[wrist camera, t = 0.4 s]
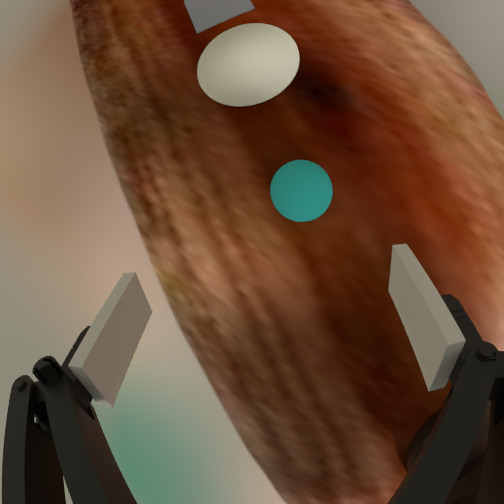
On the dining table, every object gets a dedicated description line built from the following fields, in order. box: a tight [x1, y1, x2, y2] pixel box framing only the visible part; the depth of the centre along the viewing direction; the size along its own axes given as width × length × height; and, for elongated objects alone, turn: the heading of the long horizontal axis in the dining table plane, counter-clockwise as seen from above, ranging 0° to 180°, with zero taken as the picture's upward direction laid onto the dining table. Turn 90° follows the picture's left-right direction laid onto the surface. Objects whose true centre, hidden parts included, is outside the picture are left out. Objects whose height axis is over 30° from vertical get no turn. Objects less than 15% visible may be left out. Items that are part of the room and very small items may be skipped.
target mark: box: [197, 23, 300, 107], centre depth 31 cm, size 12×12×1 cm
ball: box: [270, 160, 333, 222], centre depth 27 cm, size 6×6×6 cm
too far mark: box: [184, 0, 255, 34], centre depth 31 cm, size 8×8×1 cm
